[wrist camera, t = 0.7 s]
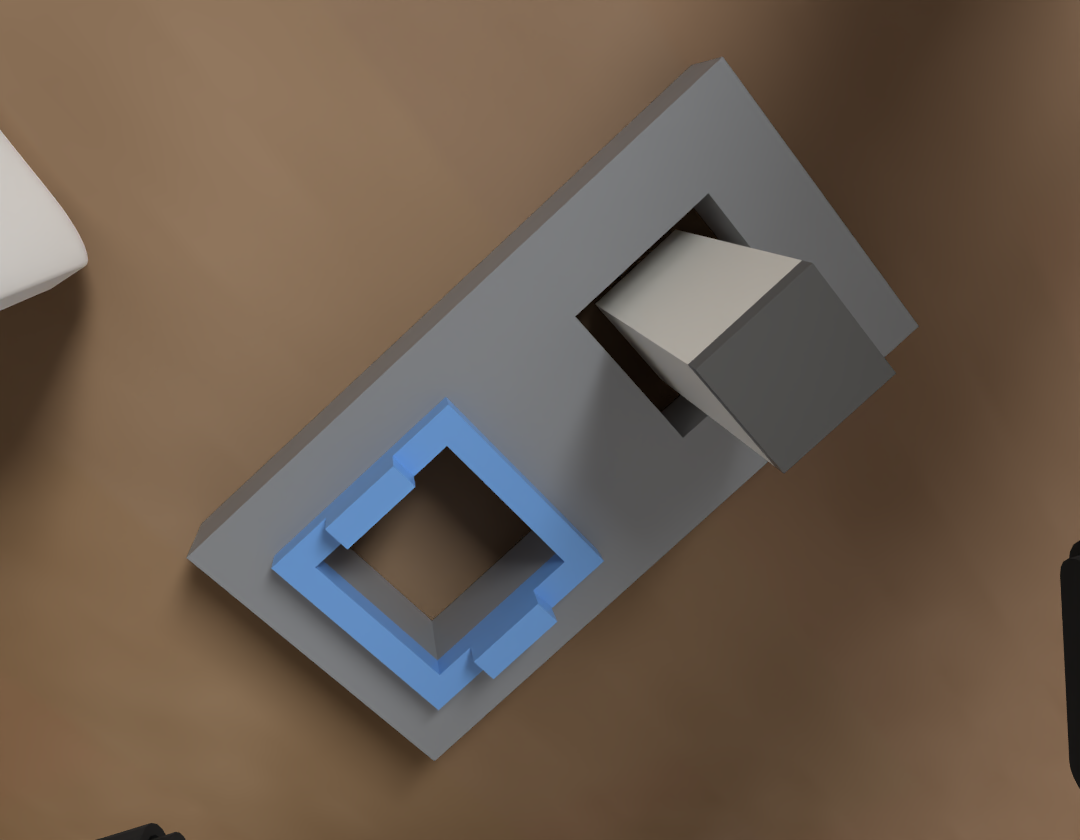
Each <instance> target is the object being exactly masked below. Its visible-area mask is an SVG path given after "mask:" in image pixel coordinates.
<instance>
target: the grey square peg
mask: <svg viewBox="0 0 1080 840" xmlns="http://www.w3.org/2000/svg"><path fill="white" fill-rule="evenodd" d="M595 305H596V306H597V307H598V308H599V309H600V310H601V311H602V313H603V314H604V315H605V316H606V317H607V318H608V319H609V321H610V322H611V323H612V324H613V325H614V326H615V327H616V329H617V330H618V331H619V332H620V333H621V334H622V335H623V337H624V338H625V339H626V340H627V341H628V342H629V343H630V345H631V346H632V347H633V348H634V349H635V350H636V351H637V353H638V354H639V355H640V356H641V357H642V358H643V359H644V361H645V362H646V363H647V364H648V365H649V366H650V367H651V369H652V370H653V371H654V372H655V373H656V374H657V375H658V377H659V378H660V379H661V380H662V381H664V382H665V383H666V384H668V385H669V386H670V387H672V388H673V389H674V390H675V391H677V392H678V393H679V394H681V395H682V396H683V397H685V398H686V399H687V400H689V401H690V402H691V403H692V404H694V405H695V406H696V407H698V408H699V409H700V410H702V411H703V412H704V413H706V414H707V415H708V416H709V417H711V418H712V419H713V420H715V421H716V422H717V423H719V424H720V425H721V426H723V427H724V428H725V429H726V430H728V431H729V432H730V433H732V434H733V435H734V436H736V437H737V438H738V439H740V440H741V441H742V442H743V443H745V444H746V445H747V446H749V447H750V448H751V449H753V450H754V451H755V452H757V453H758V454H759V455H760V456H762V457H763V458H764V459H766V460H767V461H768V462H770V463H771V464H772V465H774V466H775V467H776V468H777V469H779V470H780V471H781V472H783V473H785V472H786V471H788V470H789V469H790V468H791V467H792V466H793V465H794V464H795V463H796V462H798V461H799V460H800V459H801V458H802V457H803V456H804V455H805V454H806V453H808V452H809V451H810V450H811V449H812V448H813V447H814V446H815V445H817V444H818V443H819V442H820V441H821V440H822V439H823V438H824V437H825V436H827V435H828V434H829V433H830V432H831V431H832V430H833V429H834V428H835V427H837V426H838V425H839V424H840V423H841V422H842V421H843V420H844V419H846V418H847V417H848V416H849V415H850V414H851V413H852V412H853V411H854V410H856V409H857V408H858V407H859V406H860V405H861V404H862V403H863V402H865V401H866V400H867V399H868V398H869V397H870V396H871V395H872V394H873V393H875V392H876V391H877V390H878V389H879V388H880V387H881V386H882V385H883V384H885V383H886V382H887V381H888V380H889V379H890V378H891V377H892V376H894V375H895V374H896V373H895V371H894V370H893V369H892V367H891V366H890V365H889V363H888V362H887V361H886V359H885V358H884V357H883V355H882V354H881V353H880V351H879V350H878V349H877V347H876V346H875V345H874V343H873V342H872V341H871V339H870V338H869V337H868V336H867V334H866V333H865V332H864V330H863V329H862V328H861V326H860V325H859V324H858V322H857V321H856V320H855V318H854V317H853V316H852V314H851V313H850V312H849V310H848V309H847V308H846V306H845V305H844V304H843V302H842V301H841V300H840V298H839V297H838V296H837V294H836V293H835V292H834V291H833V289H832V288H831V287H830V285H829V284H828V283H827V281H826V280H825V279H824V277H823V276H822V275H821V273H820V272H819V271H818V269H817V268H816V267H815V265H814V264H813V263H811V262H807V261H803V260H799V259H795V258H791V257H786V256H782V255H778V254H774V253H770V252H766V251H762V250H758V249H754V248H750V247H745V246H741V245H737V244H733V243H729V242H725V241H721V240H717V239H713V238H708V237H704V236H700V235H696V234H692V233H688V232H684V231H680V230H676V229H675V230H674V231H673V232H672V233H671V234H670V235H669V236H668V237H667V238H666V239H665V240H664V241H662V242H661V243H660V244H659V245H658V246H657V247H656V248H655V249H654V250H653V251H652V252H651V253H649V254H648V255H647V256H646V257H645V258H644V259H643V260H642V261H641V262H640V263H639V264H638V265H636V266H635V267H634V268H633V269H632V270H631V271H630V272H629V273H628V274H627V275H626V276H625V277H623V278H622V279H621V280H620V281H619V282H618V283H617V284H616V285H615V286H614V287H613V288H612V289H610V290H609V291H608V292H607V293H606V294H605V295H604V296H603V297H602V298H601V299H600V300H599V301H597V302H596V303H595Z"/></svg>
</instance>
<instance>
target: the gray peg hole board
mask: <svg viewBox="0 0 1080 840" xmlns="http://www.w3.org/2000/svg"><path fill="white" fill-rule="evenodd" d="M692 208H694V209H695V210H696V211H697V213H698V214H699V215H700V216H701V218H702V219H703V220H704V221H705V223H706V224H707V225H708V226H709V228H710V229H711V230H712V232H713V233H714V234H715V235H716V237H717V238H718V239H719V240H721V241H725V242H729V243H733V244H737V245H741V246H745V247H750V248H754V249H758V250H762V251H766V252H770V253H774V254H778V255H782V256H786V257H791V258H795V259H799V260H803V261H807V262H811V263H813V264H814V265H815V267H816V268H817V269H818V271H819V272H820V273H821V275H822V276H823V277H824V279H825V280H826V281H827V283H828V284H829V285H830V287H831V288H832V289H833V291H834V292H835V293H836V294H837V296H838V297H839V298H840V300H841V301H842V302H843V304H844V305H845V306H846V308H847V309H848V310H849V312H850V313H851V314H852V316H853V317H854V318H855V320H856V321H857V322H858V324H859V325H860V326H861V328H862V329H863V330H864V332H865V333H866V334H867V336H868V337H869V338H870V339H871V341H872V342H873V343H874V345H875V346H876V347H877V349H878V350H879V351H880V353H881V354H882V355H883V357H885V356H886V355H887V354H889V353H890V352H891V351H892V350H893V349H894V348H895V347H896V346H897V345H899V344H900V343H901V342H902V341H903V340H904V339H905V338H906V337H908V336H909V335H910V334H911V333H912V332H913V331H914V330H915V329H916V328H918V327H919V326H918V325H917V323H916V322H915V320H914V319H913V318H912V316H911V315H910V314H909V312H908V311H907V309H906V308H905V307H904V305H903V304H902V303H901V301H900V300H899V298H898V297H897V296H896V294H895V293H894V292H893V290H892V289H891V287H890V286H889V285H888V283H887V282H886V281H885V279H884V278H883V276H882V275H881V274H880V272H879V271H878V270H877V268H876V267H875V265H874V264H873V263H872V261H871V260H870V259H869V257H868V256H867V254H866V253H865V252H864V250H863V249H862V248H861V246H860V245H859V243H858V242H857V241H856V239H855V238H854V237H853V235H852V234H851V232H850V231H849V230H848V228H847V227H846V226H845V224H844V223H843V221H842V220H841V219H840V217H839V216H838V215H837V213H836V212H835V210H834V209H833V208H832V206H831V205H830V204H829V202H828V201H827V199H826V198H825V197H824V195H823V194H822V193H821V191H820V190H819V188H818V187H817V186H816V184H815V183H814V182H813V180H812V179H811V177H810V176H809V175H808V173H807V172H806V171H805V169H804V168H803V166H802V165H801V164H800V162H799V161H798V160H797V158H796V157H795V155H794V154H793V153H792V151H791V150H790V149H789V147H788V146H787V144H786V143H785V142H784V140H783V139H782V138H781V136H780V135H779V133H778V132H777V131H776V129H775V128H774V127H773V125H772V124H771V122H770V121H769V120H768V118H767V117H766V116H765V114H764V113H763V111H762V110H761V109H760V107H759V106H758V105H757V103H756V102H755V100H754V99H753V98H752V96H751V95H750V94H749V92H748V91H747V89H746V88H745V87H744V85H743V84H742V83H741V81H740V80H739V78H738V77H737V76H736V74H735V73H734V72H733V70H732V69H731V67H730V66H729V65H728V63H727V62H726V61H725V59H724V58H723V57H720V58H716V59H712V60H709V61H705V62H701V63H698V64H694V65H691V66H690V67H689V68H688V69H687V70H686V71H685V72H684V73H683V74H682V75H680V76H679V77H678V78H677V79H676V80H675V81H674V82H673V83H672V84H671V85H670V86H669V87H668V88H667V89H665V90H664V91H663V92H662V93H661V94H660V95H659V96H658V97H657V98H656V99H655V100H654V101H653V102H652V103H651V104H649V105H648V106H647V107H646V108H645V109H644V110H643V111H642V112H641V113H640V114H639V115H638V116H637V117H636V118H634V119H633V120H632V121H631V122H630V123H629V124H628V125H627V126H626V127H625V128H624V129H623V130H622V131H621V132H620V133H618V134H617V135H616V136H615V137H614V138H613V139H612V140H611V141H610V142H609V143H608V144H607V145H606V146H605V147H604V148H602V149H601V150H600V151H599V152H598V153H597V154H596V155H595V156H594V157H593V158H592V159H591V160H590V161H589V162H587V163H586V164H585V165H584V166H583V167H582V168H581V169H580V170H579V171H578V172H577V173H576V174H575V175H574V176H573V177H571V178H570V179H569V180H568V181H567V182H566V183H565V184H564V185H563V186H562V187H561V188H560V189H559V190H558V191H556V192H555V193H554V194H553V195H552V196H551V197H550V198H549V199H548V200H547V201H546V202H545V203H544V204H543V205H542V206H540V207H539V208H538V209H537V210H536V211H535V212H534V213H533V214H532V215H531V216H530V217H529V218H528V219H527V220H526V221H524V222H523V223H522V224H521V225H520V226H519V227H518V228H517V229H516V230H515V231H514V232H513V233H512V234H511V235H509V236H508V237H507V238H506V239H505V240H504V241H503V242H502V243H501V244H500V245H499V246H498V247H497V248H496V249H495V250H493V251H492V252H491V253H490V254H489V255H488V256H487V257H486V258H485V259H484V260H483V261H482V262H481V263H480V264H478V265H477V266H476V267H475V268H474V269H473V270H472V271H471V272H470V273H469V274H468V275H467V276H466V277H465V278H464V279H462V280H461V281H460V282H459V283H458V284H457V285H456V286H455V287H454V288H453V289H452V290H451V291H450V292H449V293H448V294H446V295H445V296H444V297H443V298H442V299H441V300H440V301H439V302H438V303H437V304H436V305H435V306H434V307H433V308H431V309H430V310H429V311H428V312H427V313H426V314H425V315H424V316H423V317H422V318H421V319H420V320H419V321H418V322H417V323H415V324H414V325H413V326H412V327H411V328H410V329H409V330H408V331H407V332H406V333H405V334H404V335H403V336H402V337H400V338H399V339H398V340H397V341H396V342H395V343H394V344H393V345H392V346H391V347H390V348H389V349H388V350H387V351H386V352H384V353H383V354H382V355H381V356H380V357H379V358H378V359H377V360H376V361H375V362H374V363H373V364H372V365H371V366H370V367H368V368H367V369H366V370H365V371H364V372H363V373H362V374H361V375H360V376H359V377H358V378H357V379H356V380H355V381H353V382H352V383H351V384H350V385H349V386H348V387H347V388H346V389H345V390H344V391H343V392H342V393H341V394H340V395H339V396H337V397H336V398H335V399H334V400H333V401H332V402H331V403H330V404H329V405H328V406H327V407H326V408H325V409H324V410H322V411H321V412H320V413H319V414H318V415H317V416H316V417H315V418H314V419H313V420H312V421H311V422H310V423H309V424H308V425H306V426H305V427H304V428H303V429H302V430H301V431H300V432H299V433H298V434H297V435H296V436H295V437H294V438H293V439H292V440H290V441H289V442H288V443H287V444H286V445H285V446H284V447H283V448H282V449H281V450H280V451H279V452H278V453H277V454H275V455H274V456H273V457H272V458H271V459H270V460H269V461H268V462H267V463H266V464H265V465H264V466H263V467H262V468H261V469H259V470H258V471H257V472H256V473H255V474H254V475H253V476H252V477H251V478H250V479H249V480H248V481H247V482H246V483H244V484H243V485H242V486H241V487H240V488H239V489H238V490H237V491H236V492H235V493H234V494H233V495H232V496H231V497H230V498H228V499H227V500H226V501H225V502H224V503H223V504H222V505H221V506H220V507H219V508H218V509H217V510H216V511H215V512H214V513H212V514H211V515H210V516H209V517H208V518H207V519H206V520H205V521H204V522H203V523H202V524H201V526H200V528H199V531H198V533H197V535H196V537H195V540H194V542H193V544H192V546H191V549H190V551H189V553H188V555H187V559H189V560H190V561H191V562H192V563H193V564H195V565H196V566H197V567H198V568H200V569H201V570H202V571H203V572H204V573H206V574H207V575H208V576H209V577H211V578H212V579H213V580H214V581H215V582H217V583H218V584H219V585H220V586H222V587H223V588H224V589H225V590H226V591H228V592H229V593H230V594H231V595H232V596H234V597H235V598H236V599H237V600H239V601H240V602H241V603H242V604H243V605H245V606H246V607H247V608H248V609H250V610H251V611H252V612H253V613H254V614H256V615H257V616H258V617H259V618H261V619H262V620H263V621H264V622H265V623H267V624H268V625H269V626H270V627H271V628H273V629H274V630H275V631H276V632H278V633H279V634H280V635H281V636H282V637H284V638H285V639H286V640H287V641H289V642H290V643H291V644H292V645H293V646H295V647H296V648H297V649H298V650H299V651H301V652H302V653H303V654H304V655H306V656H307V657H308V658H309V659H310V660H312V661H313V662H314V663H315V664H317V665H318V666H319V667H320V668H321V669H323V670H324V671H325V672H326V673H328V674H329V675H330V676H331V677H332V678H334V679H335V680H336V681H337V682H338V683H340V684H341V685H342V686H343V687H345V688H346V689H347V690H348V691H349V692H351V693H352V694H353V695H354V696H356V697H357V698H358V699H359V700H360V701H362V702H363V703H364V704H365V705H367V706H368V707H369V708H370V709H371V710H373V711H374V712H375V713H376V714H377V715H379V716H380V717H381V718H382V719H384V720H385V721H386V722H387V723H388V724H390V725H391V726H392V727H393V728H395V729H396V730H397V731H398V732H399V733H401V734H402V735H403V736H404V737H405V738H407V739H408V740H409V741H410V742H412V743H413V744H414V745H415V746H416V747H418V748H419V749H420V750H421V751H423V752H424V753H425V754H426V755H427V756H429V757H430V758H431V759H432V760H434V761H435V760H436V759H437V758H439V757H440V756H441V755H442V754H443V753H444V752H445V751H446V750H447V749H449V748H450V747H451V746H452V745H453V744H454V743H455V742H456V741H458V740H459V739H460V738H461V737H462V736H463V735H464V734H465V733H466V732H468V731H469V730H470V729H471V728H472V727H473V726H474V725H475V724H476V723H478V722H479V721H480V720H481V719H482V718H483V717H484V716H485V715H486V714H488V713H489V712H490V711H491V710H492V709H493V708H494V707H495V706H496V705H498V704H499V703H500V702H501V701H502V700H503V699H504V698H505V697H507V696H508V695H509V694H510V693H511V692H512V691H513V690H514V689H515V688H517V687H518V686H519V685H520V684H521V683H522V682H523V681H524V680H525V679H527V678H528V677H529V676H530V675H531V674H532V673H533V672H534V671H535V670H537V669H538V668H539V667H540V666H541V665H542V664H543V663H544V662H546V661H547V660H548V659H549V658H550V657H551V656H552V655H553V654H554V653H556V652H557V651H558V650H559V649H560V648H561V647H562V646H563V645H564V644H566V643H567V642H568V641H569V640H570V639H571V638H572V637H573V636H574V635H576V634H577V633H578V632H579V631H580V630H581V629H582V628H583V627H584V626H586V625H587V624H588V623H589V622H590V621H591V620H592V619H593V618H595V617H596V616H597V615H598V614H599V613H600V612H601V611H602V610H603V609H605V608H606V607H607V606H608V605H609V604H610V603H611V602H612V601H613V600H615V599H616V598H617V597H618V596H619V595H620V594H621V593H622V592H623V591H625V590H626V589H627V588H628V587H629V586H630V585H631V584H632V583H633V582H635V581H636V580H637V579H638V578H639V577H640V576H641V575H642V574H644V573H645V572H646V571H647V570H648V569H649V568H650V567H651V566H652V565H654V564H655V563H656V562H657V561H658V560H659V559H660V558H661V557H662V556H664V555H665V554H666V553H667V552H668V551H669V550H670V549H671V548H672V547H674V546H675V545H676V544H677V543H678V542H679V541H680V540H681V539H683V538H684V537H685V536H686V535H687V534H688V533H689V532H690V531H691V530H693V529H694V528H695V527H696V526H697V525H698V524H699V523H700V522H701V521H703V520H704V519H705V518H706V517H707V516H708V515H709V514H710V513H711V512H713V511H714V510H715V509H716V508H717V507H718V506H719V505H720V504H721V503H723V502H724V501H725V500H726V499H727V498H728V497H729V496H730V495H732V494H733V493H734V492H735V491H736V490H737V489H738V488H739V487H740V486H742V485H743V484H744V483H745V482H746V481H747V480H748V479H749V478H750V477H752V476H753V475H754V474H755V473H756V472H757V471H758V470H759V469H760V468H762V467H763V466H764V465H765V464H766V463H767V462H768V461H767V460H766V459H764V458H763V457H762V456H760V455H759V454H758V453H757V452H755V451H754V450H753V449H751V448H750V447H749V446H747V445H746V444H745V443H743V442H742V441H741V440H740V439H738V438H737V437H736V436H734V435H733V434H732V433H730V432H729V431H728V430H726V429H725V428H724V427H723V426H721V425H720V424H719V423H717V422H716V421H715V420H713V419H712V418H711V417H709V416H708V415H707V414H706V413H704V412H703V411H702V410H700V409H699V408H698V407H696V406H695V405H694V404H692V403H691V402H690V401H689V400H687V399H686V398H685V397H683V396H682V395H680V396H679V397H678V398H677V399H675V400H674V401H673V402H672V403H671V404H670V405H669V406H668V407H667V408H666V409H664V410H663V411H662V412H660V411H659V410H658V409H657V408H656V407H655V406H654V405H653V403H652V402H651V401H650V400H649V399H648V398H647V397H646V396H645V394H644V393H643V392H642V391H641V390H640V389H639V388H638V387H637V385H636V384H635V383H634V382H633V381H632V380H631V379H630V378H629V376H628V375H627V374H626V373H625V372H624V371H623V370H622V369H621V367H620V366H619V365H618V364H617V363H616V362H615V361H614V360H613V358H612V357H611V356H610V355H609V354H608V353H607V352H606V351H605V349H604V348H603V347H602V346H601V345H600V344H599V343H598V342H597V340H596V339H595V338H594V337H593V336H592V335H591V334H590V333H589V331H588V330H587V329H586V328H585V327H584V326H583V325H582V324H581V322H580V321H579V320H578V319H577V318H576V317H575V316H576V315H577V314H578V313H579V312H581V311H582V310H583V309H584V308H585V307H586V306H587V305H588V304H589V303H590V302H591V301H592V300H594V299H595V298H596V297H597V296H598V295H599V294H600V293H601V292H602V291H603V290H604V289H605V288H606V287H608V286H609V285H610V284H611V283H612V282H613V281H614V280H615V279H616V278H617V277H618V276H619V275H621V274H622V273H623V272H624V271H625V270H626V269H627V268H628V267H629V266H630V265H631V264H632V263H634V262H635V261H636V260H637V259H638V258H639V257H640V256H641V255H642V254H643V253H644V252H645V251H647V250H648V249H649V248H650V247H651V246H652V245H653V244H654V243H655V242H656V241H657V240H658V239H660V238H661V237H662V236H663V235H664V234H665V233H666V232H667V231H668V230H669V229H670V228H671V227H672V226H674V225H675V224H676V223H677V222H678V221H679V220H680V219H681V218H682V217H683V216H684V215H685V214H687V213H688V212H689V211H690V210H691V209H692ZM446 446H448V447H449V448H450V449H451V450H452V451H453V452H454V453H455V454H456V455H457V456H458V457H459V458H460V459H461V460H462V461H463V462H464V463H465V464H466V465H467V466H468V467H469V468H470V469H471V470H472V471H473V472H474V473H475V474H476V475H477V476H478V477H479V478H480V479H481V480H482V481H483V482H484V483H485V484H486V485H487V486H488V487H489V488H490V489H491V490H492V491H493V492H494V493H495V494H496V495H497V496H498V497H499V498H500V499H501V500H502V501H503V502H504V503H506V504H507V505H508V506H509V507H510V508H511V509H512V510H513V511H514V512H515V513H516V514H517V515H518V516H519V517H520V518H521V519H522V520H523V521H524V522H525V523H526V524H527V525H528V526H529V527H530V528H531V529H532V530H531V531H530V532H529V533H528V534H527V535H526V536H525V537H524V538H523V539H522V540H520V541H519V542H518V543H517V544H516V545H515V546H514V547H513V548H512V549H511V550H509V551H508V552H507V553H506V554H505V555H504V556H503V557H502V558H501V559H500V560H499V561H497V562H496V563H495V564H494V565H493V566H492V567H491V568H490V569H489V570H488V571H486V572H485V573H484V574H483V575H482V576H481V577H480V578H479V579H478V580H477V581H475V582H474V583H473V584H472V585H471V586H470V587H469V588H468V589H467V590H466V591H464V592H463V593H462V594H461V595H460V596H459V597H458V598H457V599H456V600H455V601H453V602H452V603H451V604H450V605H449V606H448V607H447V608H446V609H445V610H444V611H442V612H441V613H440V614H439V615H438V616H437V617H436V618H435V619H434V620H433V621H431V620H430V619H429V618H428V617H427V616H426V615H425V614H424V613H423V612H421V611H420V610H419V609H418V608H417V607H416V606H415V605H414V604H412V603H411V602H410V601H409V600H408V599H407V598H406V597H405V596H403V595H402V594H401V593H400V592H399V591H398V590H397V589H396V588H394V587H393V586H392V585H391V584H390V583H389V582H388V581H387V580H385V579H384V578H383V577H382V576H381V575H380V574H379V573H378V572H376V571H375V570H374V569H373V568H372V567H371V566H370V565H369V564H367V563H366V562H365V561H364V560H363V559H362V558H361V557H360V556H358V555H357V554H356V553H355V552H354V551H353V550H352V549H351V548H350V547H351V546H352V545H353V544H354V543H355V542H356V541H357V540H358V539H359V538H361V537H362V536H363V535H364V534H365V533H366V532H367V531H368V530H369V529H370V528H371V527H372V526H374V525H375V524H376V523H377V522H378V521H379V520H380V519H381V518H382V517H383V516H384V515H385V514H387V513H388V512H389V511H390V510H391V509H392V508H393V507H394V506H395V505H396V504H397V503H398V502H400V501H401V500H402V499H403V498H404V497H405V496H406V495H407V494H408V493H409V492H410V491H411V490H413V489H414V488H415V481H414V476H415V475H416V474H417V473H418V472H419V471H420V470H422V469H423V468H424V467H425V466H426V465H427V464H428V463H429V462H430V461H431V460H432V459H433V458H435V457H436V456H437V455H438V454H439V453H440V452H441V451H442V450H443V449H444V448H445V447H446Z"/></svg>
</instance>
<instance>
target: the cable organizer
mask: <svg viewBox="0 0 1080 840" xmlns="http://www.w3.org/2000/svg"><path fill="white" fill-rule="evenodd" d="M87 262H88V256H87V251H86V249H85V246H84V243H83V241H82V239H81V237H80V235H79V233H78V232H77V230H76V228H75V227H74V225H73V223H72V222H71V220H70V218H69V217H68V216H67V214H66V213H65V211H64V210H63V208H62V207H61V206H60V204H59V203H58V202H57V200H56V199H55V198H54V197H53V195H52V194H51V193H50V192H49V190H48V189H47V188H46V187H45V185H44V184H43V183H42V182H41V180H40V179H39V178H38V177H37V175H36V174H35V173H34V172H33V170H32V169H31V168H30V167H29V165H28V164H27V163H26V162H25V160H24V159H23V158H22V157H21V155H20V154H19V153H18V152H17V150H16V149H15V148H14V147H13V145H12V144H11V143H10V142H9V140H8V139H7V138H6V137H5V135H4V134H3V133H2V132H1V130H0V311H1V310H3V309H5V308H8V307H10V306H12V305H15V304H17V303H19V302H22V301H24V300H26V299H29V298H31V297H33V296H36V295H38V294H40V293H43V292H45V291H47V290H50V289H52V288H53V287H55V286H56V285H58V284H59V283H61V282H62V281H64V280H65V279H67V278H68V277H70V276H71V275H73V274H74V273H76V272H77V271H79V270H80V269H82V268H83V267H85V266H86V265H87Z"/></svg>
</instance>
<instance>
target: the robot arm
mask: <svg viewBox="0 0 1080 840" xmlns="http://www.w3.org/2000/svg"><path fill="white" fill-rule="evenodd" d="M1060 580H1061V600H1062V620H1063V641H1064V661H1065V681H1066V701H1067V722H1068V742H1069V762H1070V768H1071V771H1072V774H1073V777H1074V779H1075V781H1076V783H1077V785H1078V787H1079V788H1080V541H1078V542H1077V543H1075V544H1074V545H1073V547H1072V549H1071V551H1070V557H1069V559H1067V560H1065V561H1064V562H1063V564H1062V566H1061V571H1060ZM97 840H185V838H184V836H183V835H182V834H181V833H179V832H174V833H171V834H167V835H165V833H164V831H163V829H162V828H161V827H160V826H158V825H157V824H154V823H150V824H147V825H143V826H140V827H137V828H133V829H130V830H127V831H124V832H120V833H117V834H114V835H110V836H107V837H104V838H101V839H97Z"/></svg>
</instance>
